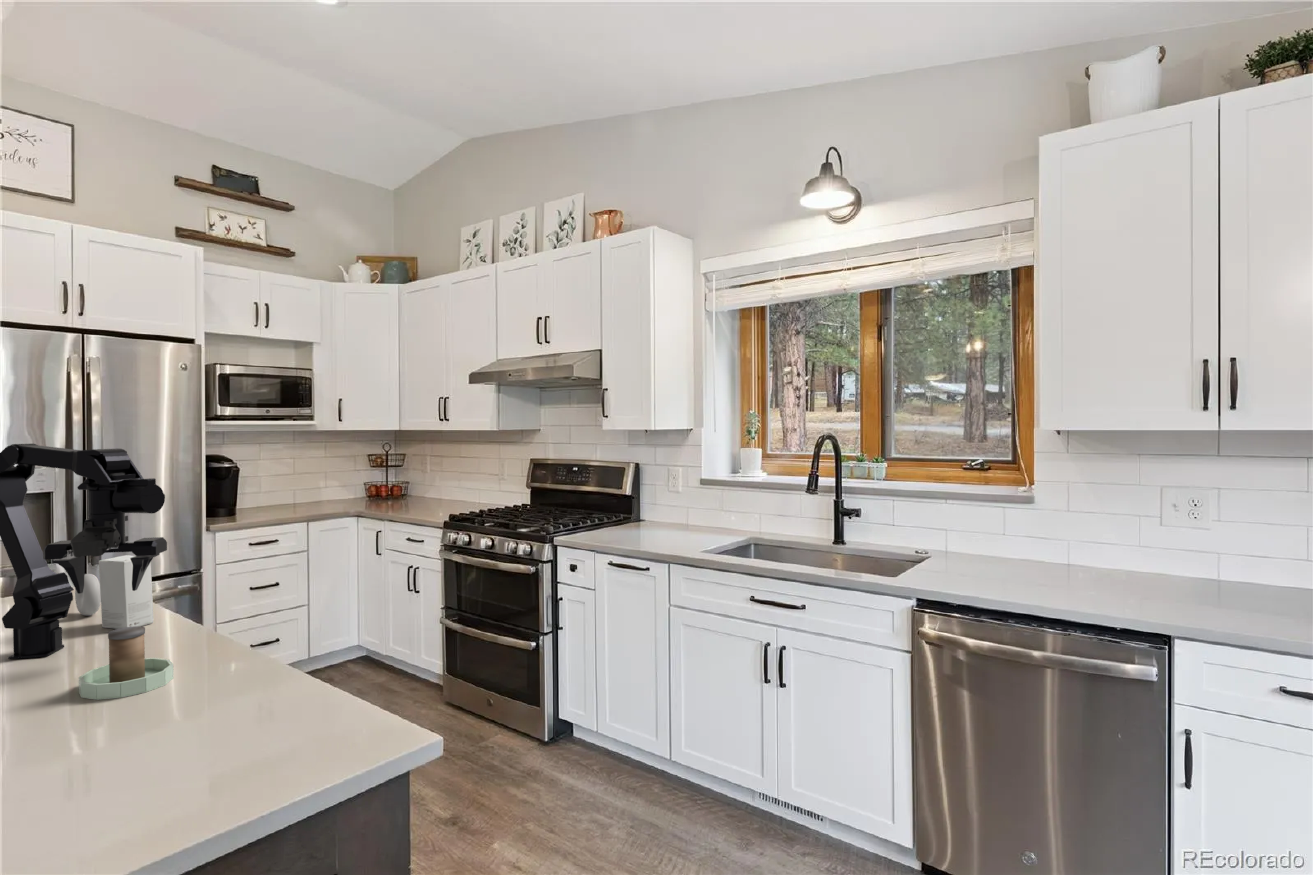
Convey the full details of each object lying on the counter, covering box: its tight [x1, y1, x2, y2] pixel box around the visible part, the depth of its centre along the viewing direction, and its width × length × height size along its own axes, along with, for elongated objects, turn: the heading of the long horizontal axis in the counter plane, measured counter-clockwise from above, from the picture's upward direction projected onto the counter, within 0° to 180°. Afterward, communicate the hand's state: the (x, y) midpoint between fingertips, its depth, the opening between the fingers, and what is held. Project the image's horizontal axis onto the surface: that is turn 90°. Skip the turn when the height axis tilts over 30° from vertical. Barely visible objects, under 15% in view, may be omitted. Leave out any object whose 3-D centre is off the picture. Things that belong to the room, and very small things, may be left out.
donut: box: [74, 573, 101, 617], centre depth 168 cm, size 10×4×10 cm, turn 52°
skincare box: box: [98, 554, 155, 630], centre depth 159 cm, size 8×7×16 cm
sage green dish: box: [78, 657, 174, 701], centre depth 124 cm, size 13×13×2 cm
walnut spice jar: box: [107, 626, 146, 683], centre depth 124 cm, size 5×5×9 cm
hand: (107, 591), depth 138 cm, fingers open, 9 cm apart
